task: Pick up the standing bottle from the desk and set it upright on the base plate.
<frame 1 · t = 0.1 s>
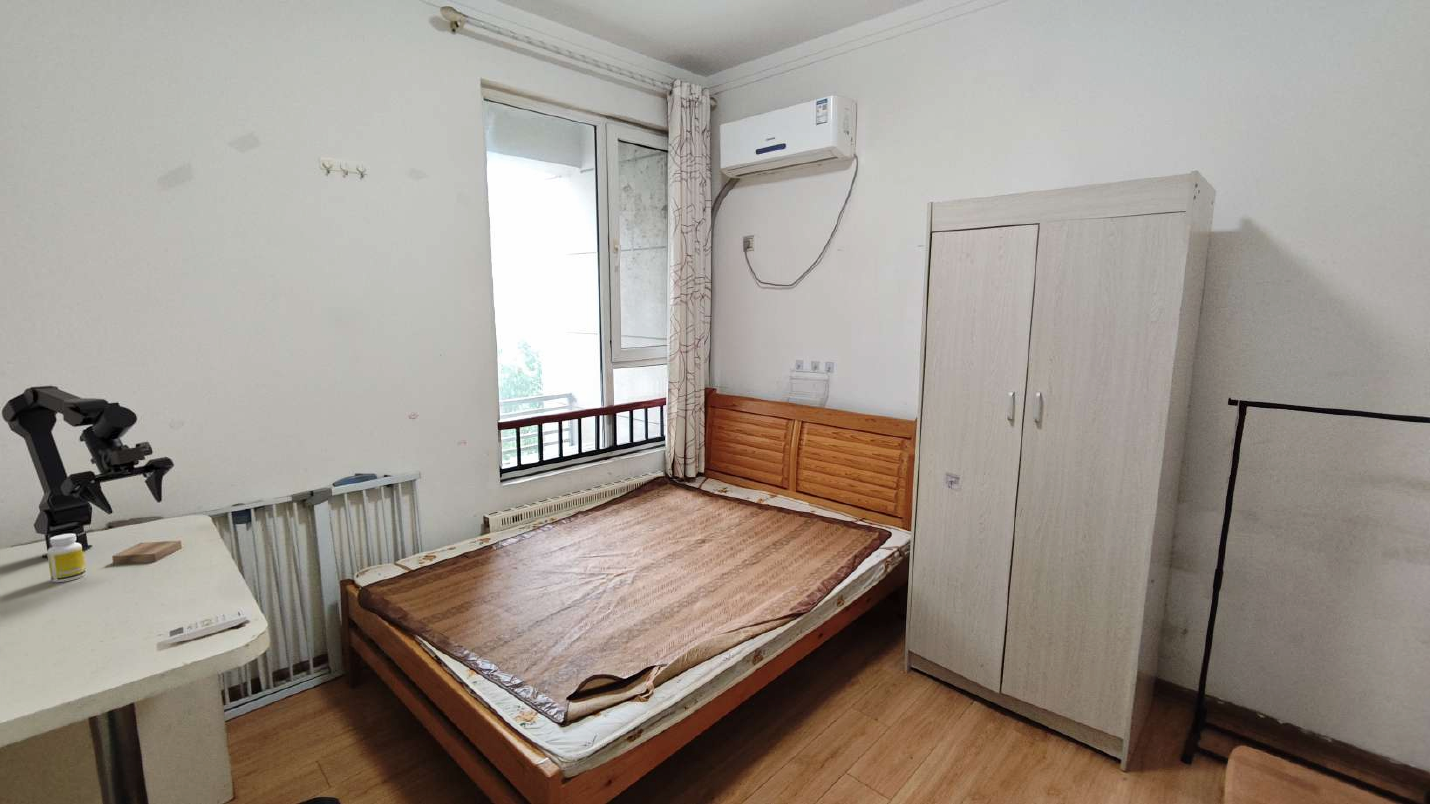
hand: (136, 507, 142), 15 cm above the table, tool tilted 30°, fingers open, 9 cm apart
supplement bottle: (69, 579, 139), on the table
base plate: (148, 555, 152), on the table
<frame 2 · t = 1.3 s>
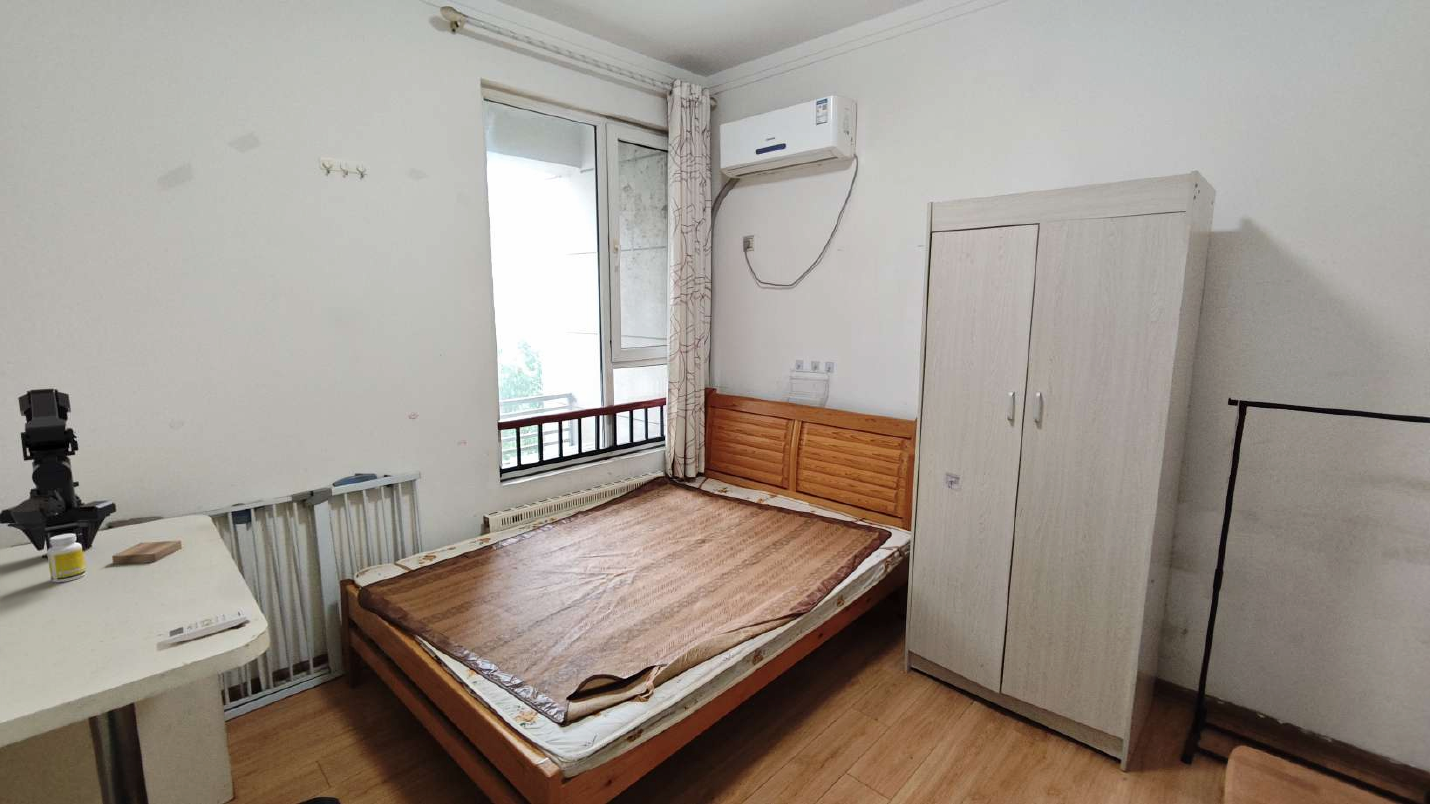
hand: (64, 548, 138), 7 cm above the table, tool pointing down, fingers open, 9 cm apart
nothing on the table moved.
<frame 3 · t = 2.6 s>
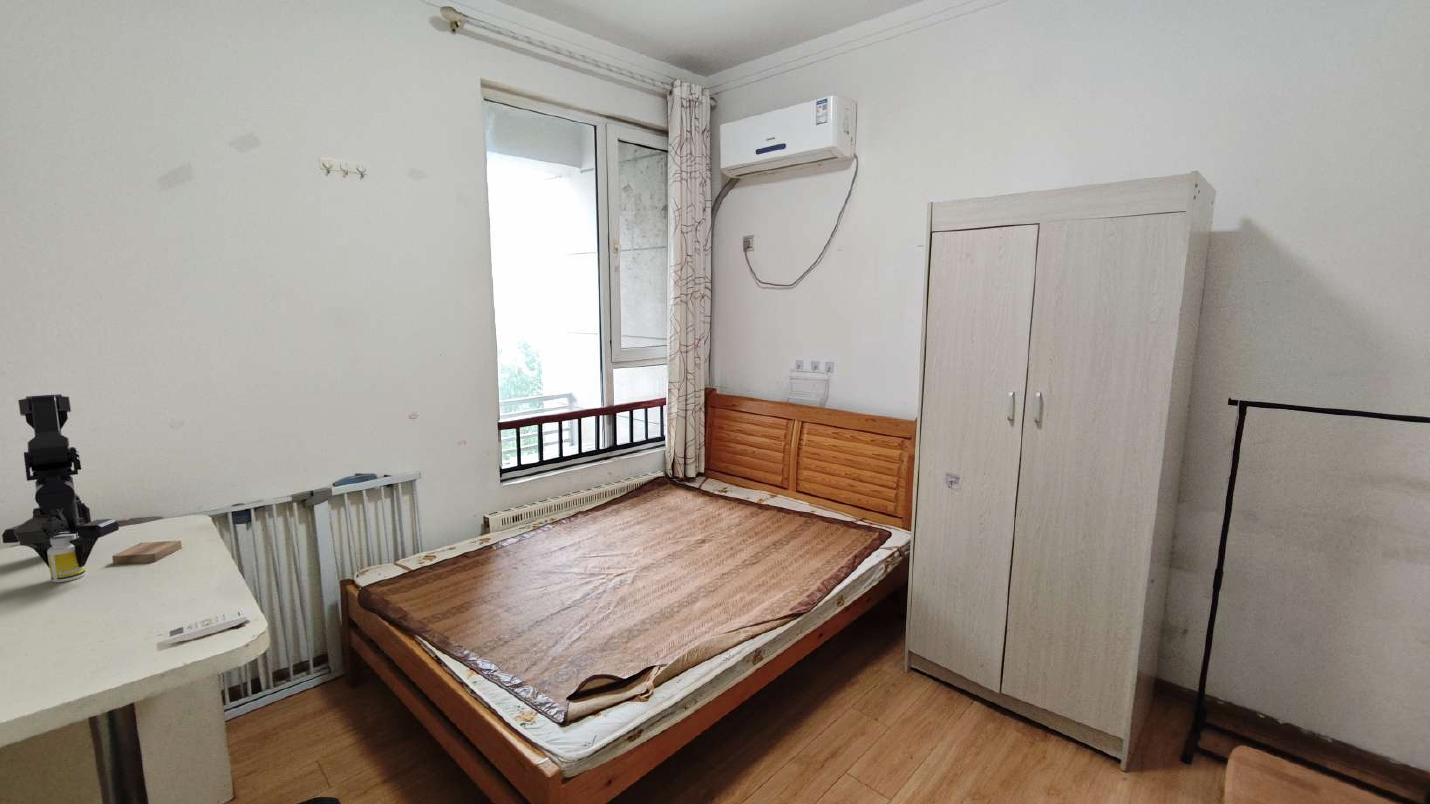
hand: (67, 567, 139), 3 cm above the table, tool pointing down, fingers closed on supplement bottle, 5 cm apart
supplement bottle: (69, 578, 139), on the table, touching gripper
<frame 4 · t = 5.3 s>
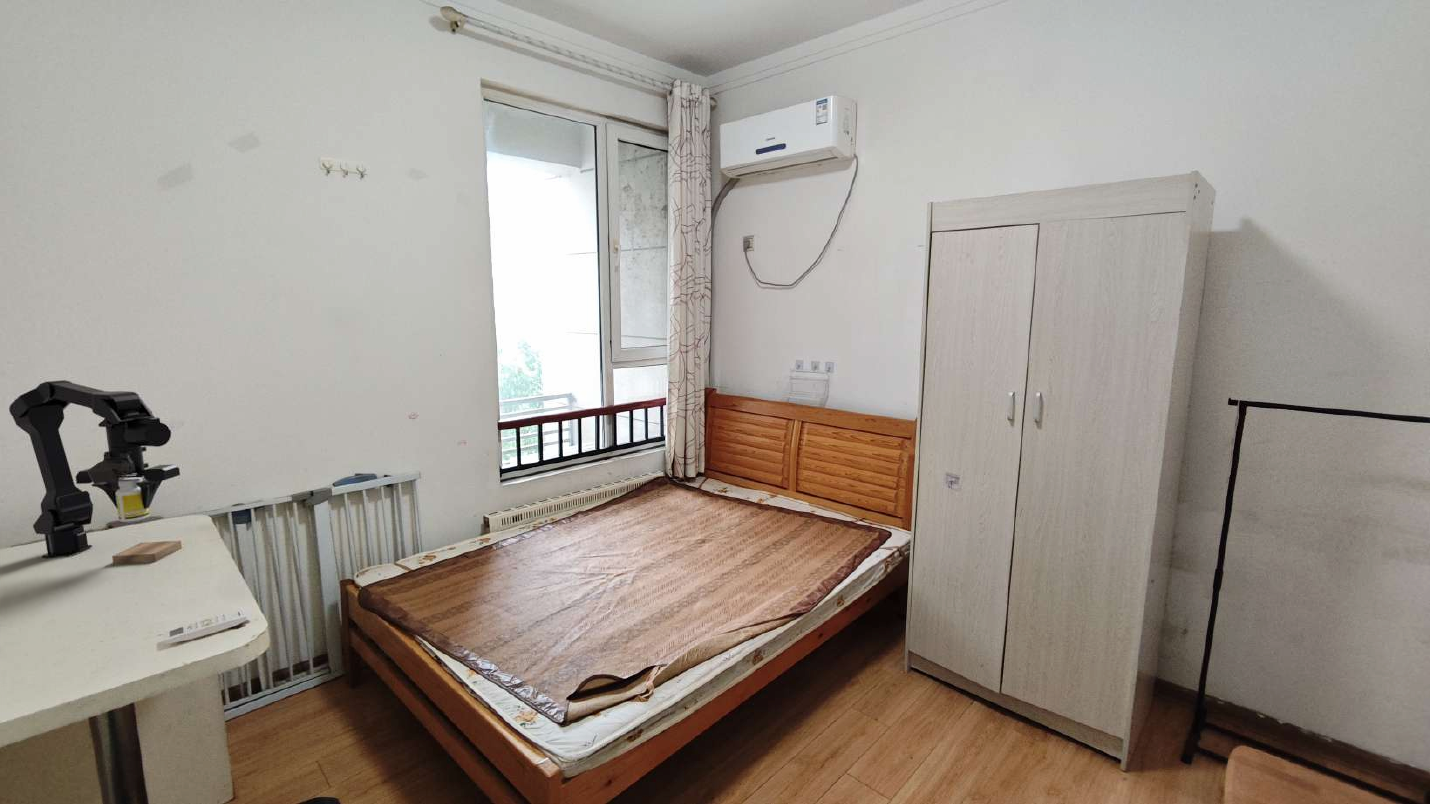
hand: (133, 508, 149), 12 cm above the table, tool pointing down, fingers closed on supplement bottle, 5 cm apart
supplement bottle: (134, 519, 149), point 10 cm above the table, touching gripper
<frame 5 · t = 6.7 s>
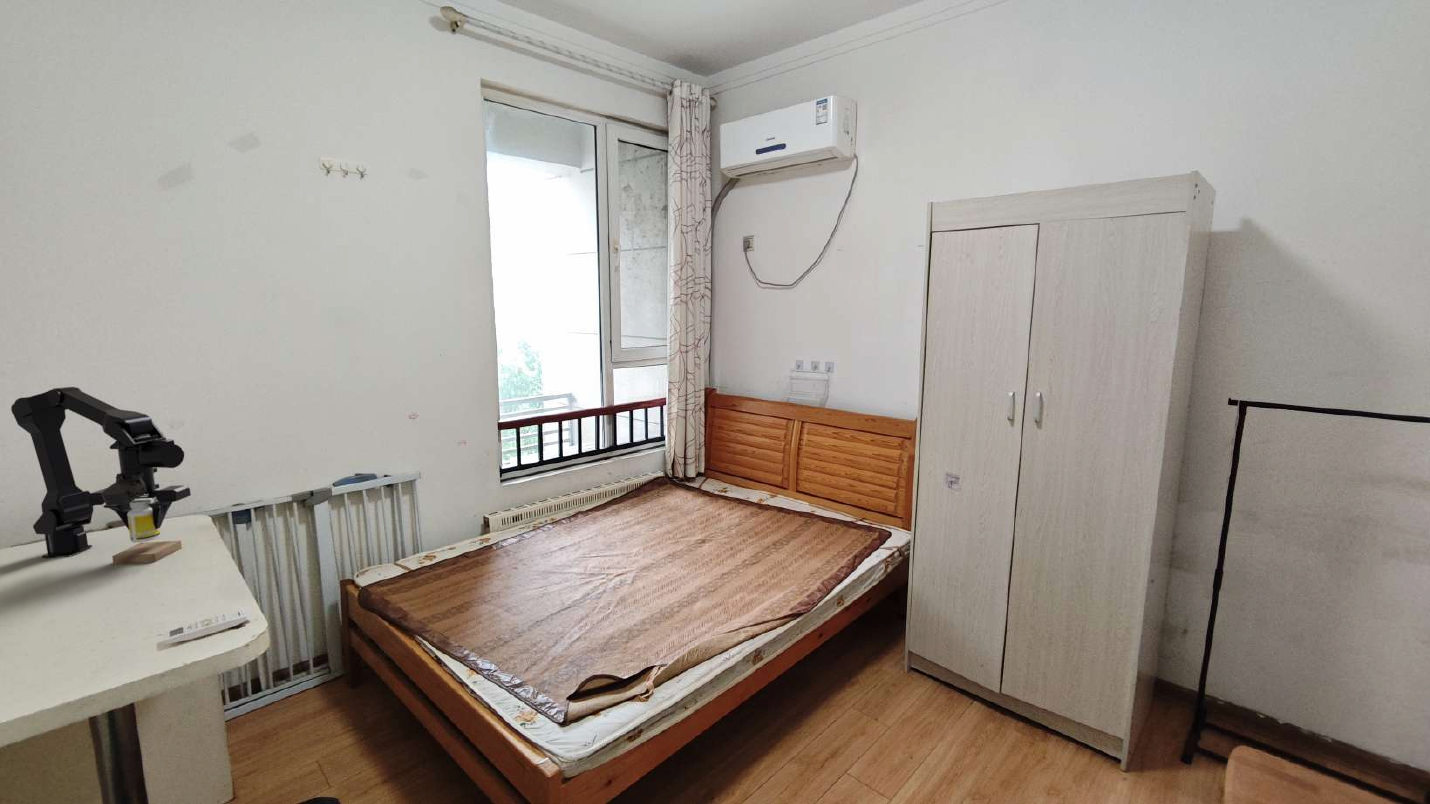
hand: (144, 529, 151), 7 cm above the table, tool pointing down, fingers closed on supplement bottle, 5 cm apart
supplement bottle: (145, 539, 151), point 4 cm above the table, touching gripper
when the fingers open (6 cm above the table, at t = 7.8 s): supplement bottle drops 1 cm, resting on base plate.
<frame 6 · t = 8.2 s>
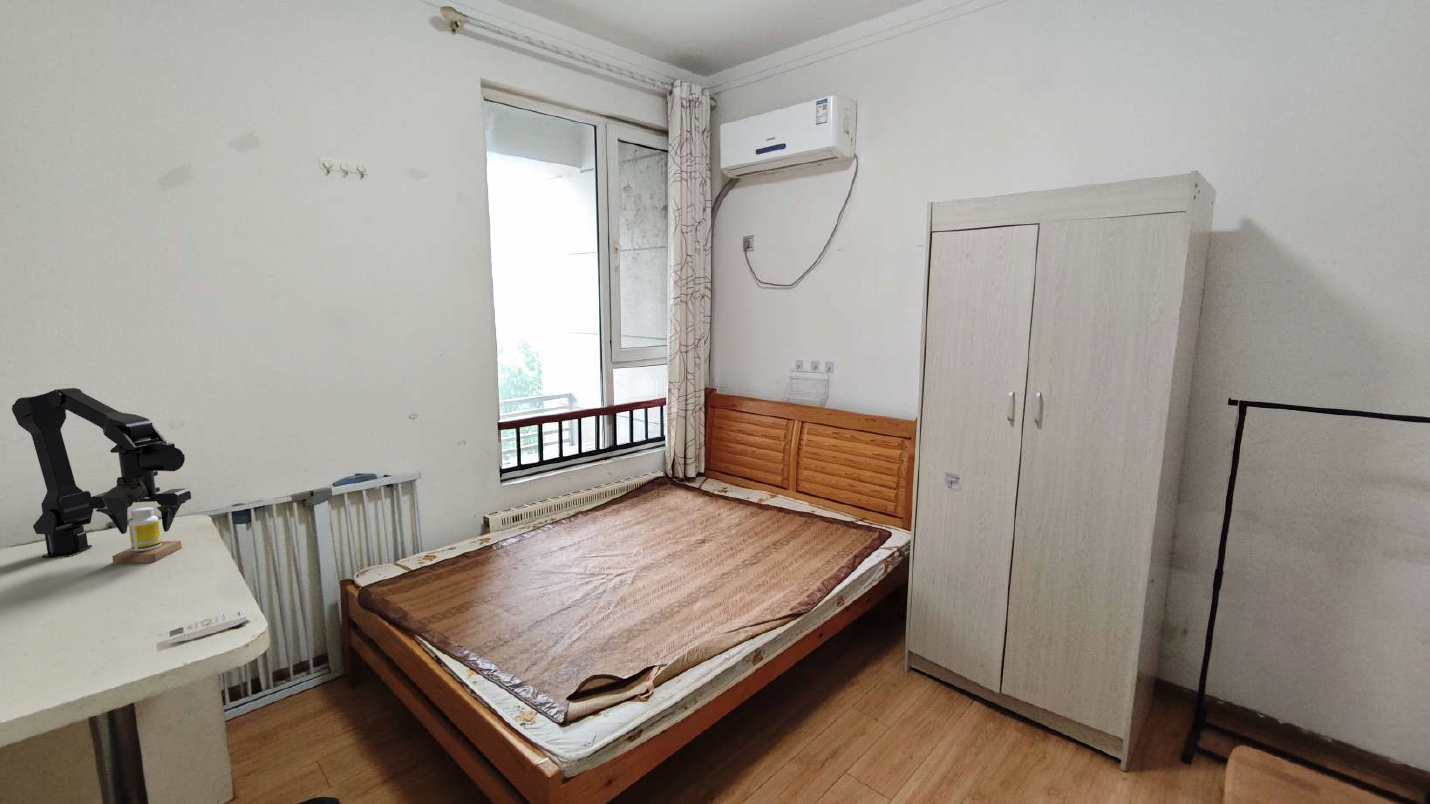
hand: (145, 532, 151), 6 cm above the table, tool pointing down, fingers open, 9 cm apart
supplement bottle: (147, 548, 152), point 2 cm above the table, touching base plate
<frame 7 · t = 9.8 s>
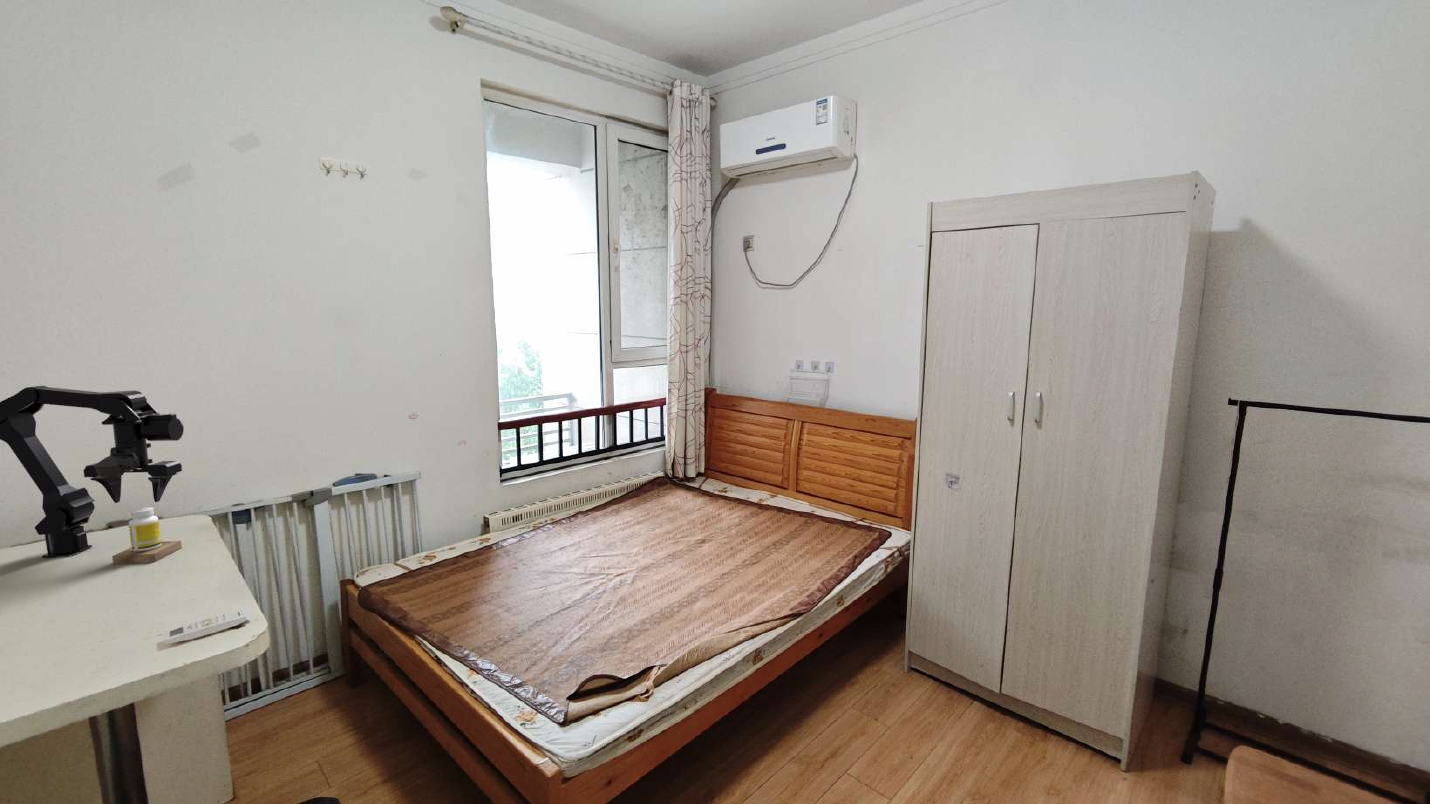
hand: (137, 502, 156), 12 cm above the table, tool pointing down, fingers open, 9 cm apart
nothing on the table moved.
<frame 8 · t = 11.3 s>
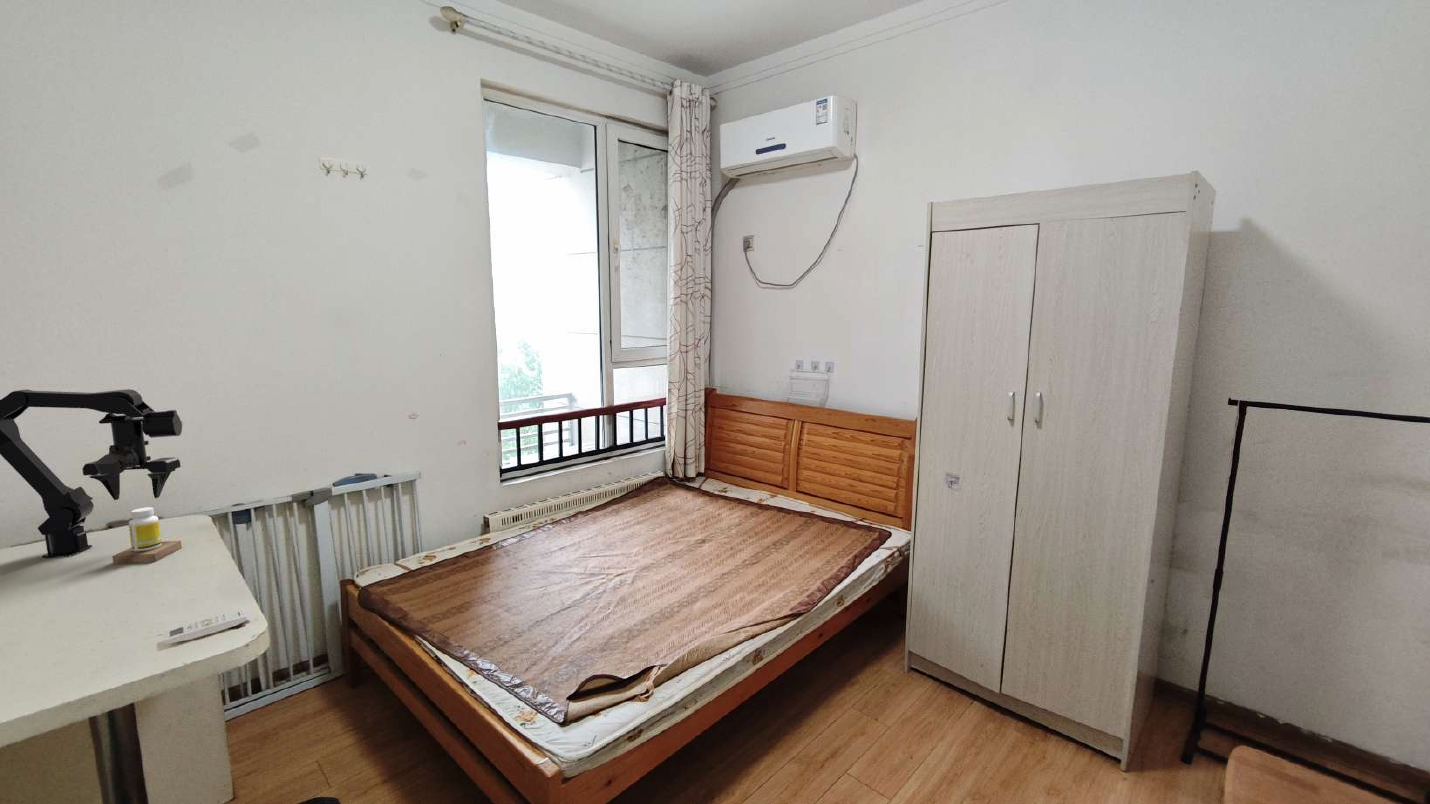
hand: (136, 498, 159), 12 cm above the table, tool pointing down, fingers open, 9 cm apart
nothing on the table moved.
at the end: supplement bottle 0.1 cm off-centre on the base plate, point 1.8 cm above the base plate's base; supplement bottle tilted 0°; supplement bottle touching base plate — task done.
